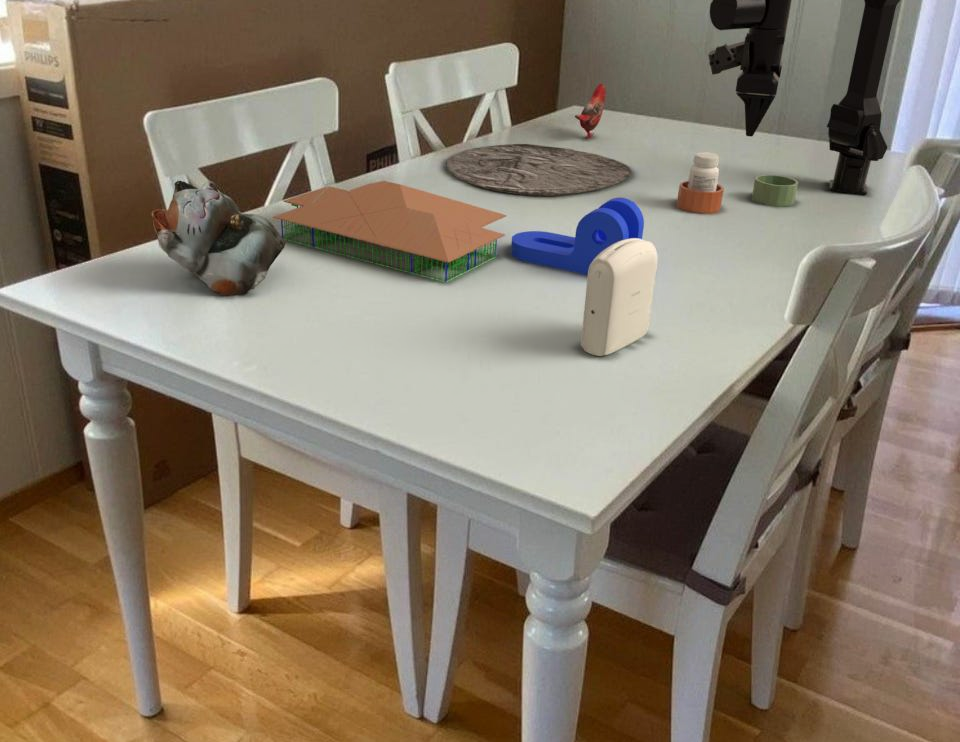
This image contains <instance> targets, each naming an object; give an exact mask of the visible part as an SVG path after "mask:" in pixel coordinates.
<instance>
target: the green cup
mask: <svg viewBox="0 0 960 742" xmlns="http://www.w3.org/2000/svg"><path fill="white" fill-rule="evenodd" d="M754 177H755V178H754V183H753V189H752V193H751V199H752V201H753V202H756V203H757V204H761V205H764V206H769V207H770V206H771V207H790V206H793V205H794V204H795V201H796V197H797V191H798V187H799V181H798V180H796V179H794V178H793V177H789V176H785V175H779V174H759V175H756V176H754Z"/></svg>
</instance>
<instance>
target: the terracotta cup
mask: <svg viewBox="0 0 960 742" xmlns="http://www.w3.org/2000/svg"><path fill="white" fill-rule="evenodd" d="M688 182H689V180H684V181H681V182H680V183H679V186H678V193H677V199H676V207H677V208H678V209H680V210H682V211H685V212H690V213H695V214H715V213H718V212H720V211H721V207H722V204H723V203H722V201H723V197H724V190H725V188H724V186H723V185H721V184H718V183H717V187H716V191H714V192H702V191H695V190H691V189H688Z"/></svg>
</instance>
